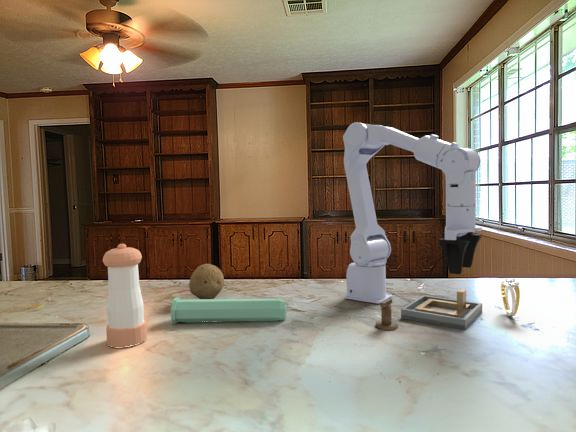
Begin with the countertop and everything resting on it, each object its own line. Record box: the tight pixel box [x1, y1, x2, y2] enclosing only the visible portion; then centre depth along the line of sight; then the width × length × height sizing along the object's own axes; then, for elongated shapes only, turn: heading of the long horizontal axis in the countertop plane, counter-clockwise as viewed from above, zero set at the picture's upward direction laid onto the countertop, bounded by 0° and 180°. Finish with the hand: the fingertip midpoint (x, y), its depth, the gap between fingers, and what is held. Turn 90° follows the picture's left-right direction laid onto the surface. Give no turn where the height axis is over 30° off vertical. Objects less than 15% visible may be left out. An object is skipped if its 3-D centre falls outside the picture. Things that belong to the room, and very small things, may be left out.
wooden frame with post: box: [415, 288, 470, 318], centre depth 89 cm, size 9×9×5 cm
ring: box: [500, 278, 521, 317], centre depth 87 cm, size 7×3×8 cm, turn 165°
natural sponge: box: [188, 263, 225, 299], centre depth 105 cm, size 9×9×10 cm
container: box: [170, 296, 288, 324], centre depth 90 cm, size 6×6×25 cm
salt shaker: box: [102, 243, 148, 347], centre depth 79 cm, size 7×7×19 cm
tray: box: [400, 295, 483, 331], centre depth 89 cm, size 13×13×2 cm
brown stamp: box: [375, 298, 399, 331], centre depth 83 cm, size 4×4×5 cm
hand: (460, 270), depth 86 cm, fingers open, 7 cm apart
